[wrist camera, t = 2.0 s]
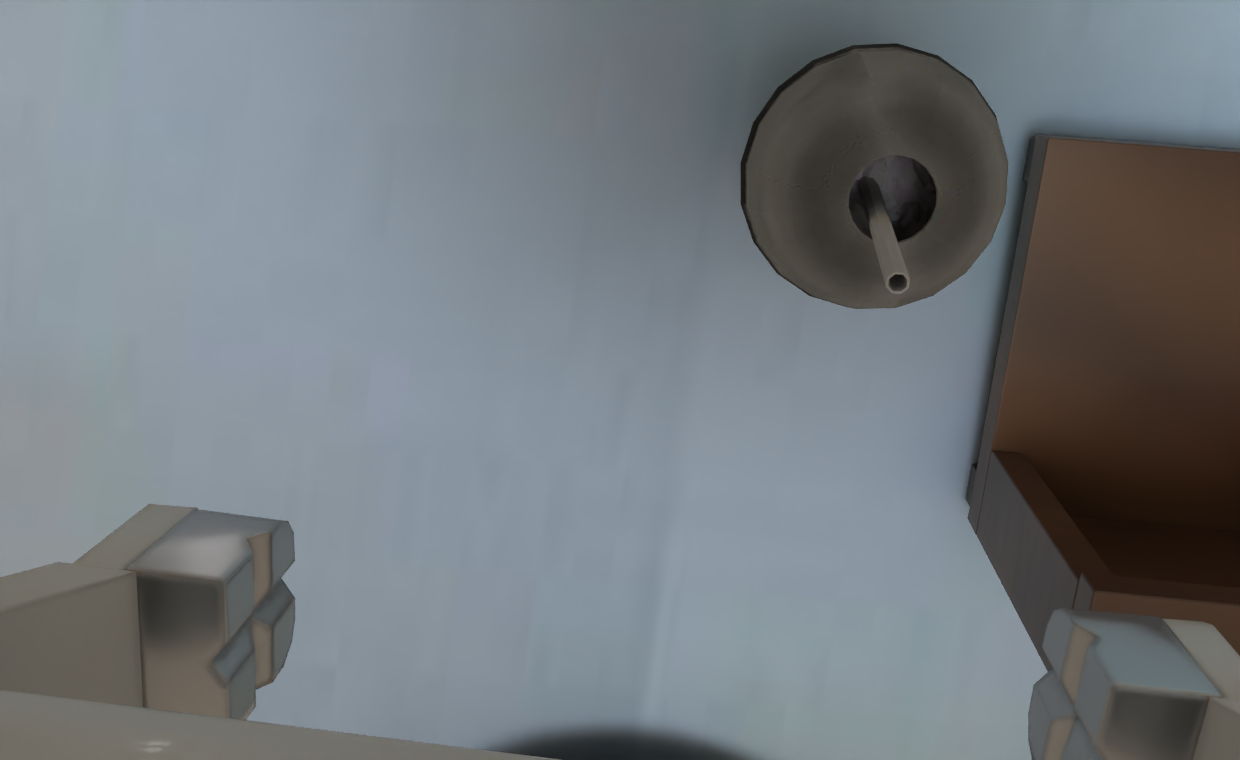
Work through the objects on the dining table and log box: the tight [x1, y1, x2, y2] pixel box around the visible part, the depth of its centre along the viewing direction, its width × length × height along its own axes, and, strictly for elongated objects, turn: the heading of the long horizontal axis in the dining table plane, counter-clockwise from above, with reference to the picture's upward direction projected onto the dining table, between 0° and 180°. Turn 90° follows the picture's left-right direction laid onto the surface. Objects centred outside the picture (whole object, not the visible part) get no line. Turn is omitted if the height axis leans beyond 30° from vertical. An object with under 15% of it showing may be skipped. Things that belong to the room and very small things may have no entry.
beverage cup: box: [741, 44, 1008, 309], centre depth 32 cm, size 7×7×20 cm
